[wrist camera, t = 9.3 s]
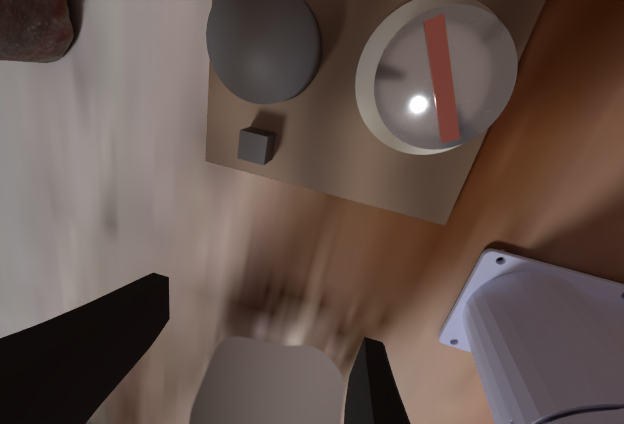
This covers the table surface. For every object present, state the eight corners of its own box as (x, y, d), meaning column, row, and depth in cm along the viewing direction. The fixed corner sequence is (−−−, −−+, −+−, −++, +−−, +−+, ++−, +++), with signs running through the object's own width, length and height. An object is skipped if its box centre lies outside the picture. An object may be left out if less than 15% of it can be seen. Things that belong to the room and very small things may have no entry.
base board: (571, -83, 12) (630, -134, 9) (441, 216, 18) (452, 242, 15) (231, -133, 14) (191, -189, 11) (215, 156, 20) (186, 169, 17)
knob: (484, 118, 14) (525, 132, 10) (387, 142, 16) (387, 164, 12) (473, 10, 13) (516, -25, 9) (367, 48, 14) (360, 33, 10)
